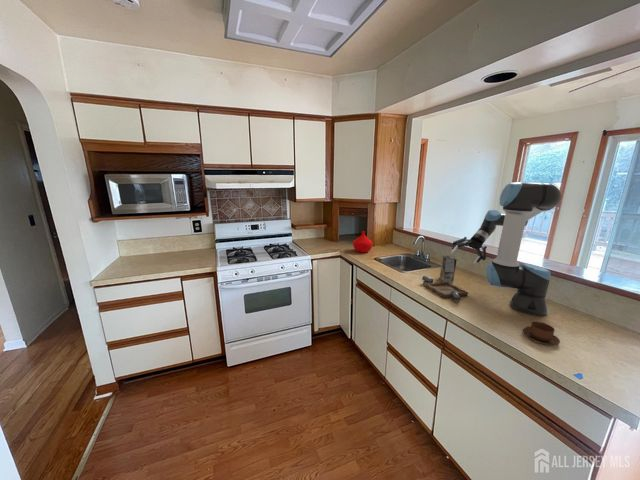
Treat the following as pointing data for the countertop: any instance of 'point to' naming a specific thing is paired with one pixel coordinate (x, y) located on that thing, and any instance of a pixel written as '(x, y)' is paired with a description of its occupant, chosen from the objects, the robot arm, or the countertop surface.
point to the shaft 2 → (455, 297)
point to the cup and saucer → (541, 333)
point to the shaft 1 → (427, 280)
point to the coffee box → (448, 269)
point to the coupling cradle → (445, 289)
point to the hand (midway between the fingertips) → (462, 258)
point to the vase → (362, 243)
